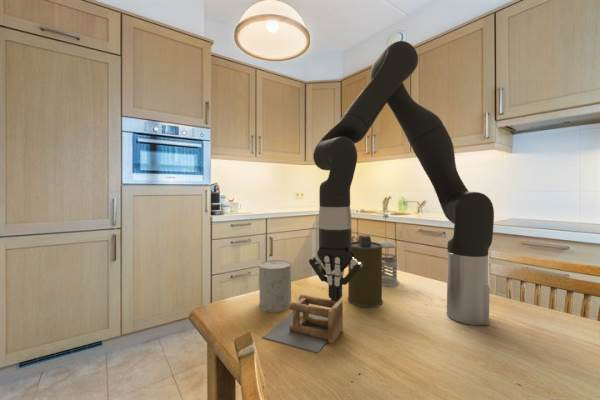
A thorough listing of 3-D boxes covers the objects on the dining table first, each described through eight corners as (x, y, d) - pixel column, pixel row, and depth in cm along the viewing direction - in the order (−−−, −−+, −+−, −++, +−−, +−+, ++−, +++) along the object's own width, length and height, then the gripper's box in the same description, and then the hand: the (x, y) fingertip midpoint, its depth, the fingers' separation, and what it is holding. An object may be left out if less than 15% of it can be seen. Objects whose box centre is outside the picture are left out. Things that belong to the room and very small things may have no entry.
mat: (342, 320, 72) (342, 320, 72) (318, 353, 58) (318, 352, 58) (294, 310, 79) (294, 310, 79) (262, 337, 64) (262, 336, 64)
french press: (404, 286, 98) (404, 215, 97) (371, 286, 98) (371, 215, 97) (394, 277, 108) (394, 213, 107) (364, 277, 107) (364, 213, 107)
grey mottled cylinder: (296, 301, 85) (296, 262, 85) (282, 314, 76) (281, 270, 76) (270, 297, 89) (269, 259, 89) (252, 308, 80) (252, 266, 80)
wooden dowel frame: (342, 300, 67) (301, 293, 72) (332, 312, 61) (288, 303, 66) (342, 329, 68) (302, 319, 73) (332, 343, 61) (289, 332, 66)
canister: (386, 307, 80) (386, 238, 79) (350, 307, 80) (350, 239, 80) (377, 293, 91) (377, 232, 90) (345, 293, 91) (345, 233, 91)
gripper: (367, 225, 64) (367, 299, 65) (315, 223, 70) (315, 290, 71) (359, 229, 57) (359, 312, 58) (301, 226, 63) (302, 301, 64)
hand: (335, 300), depth 64 cm, fingers closed
